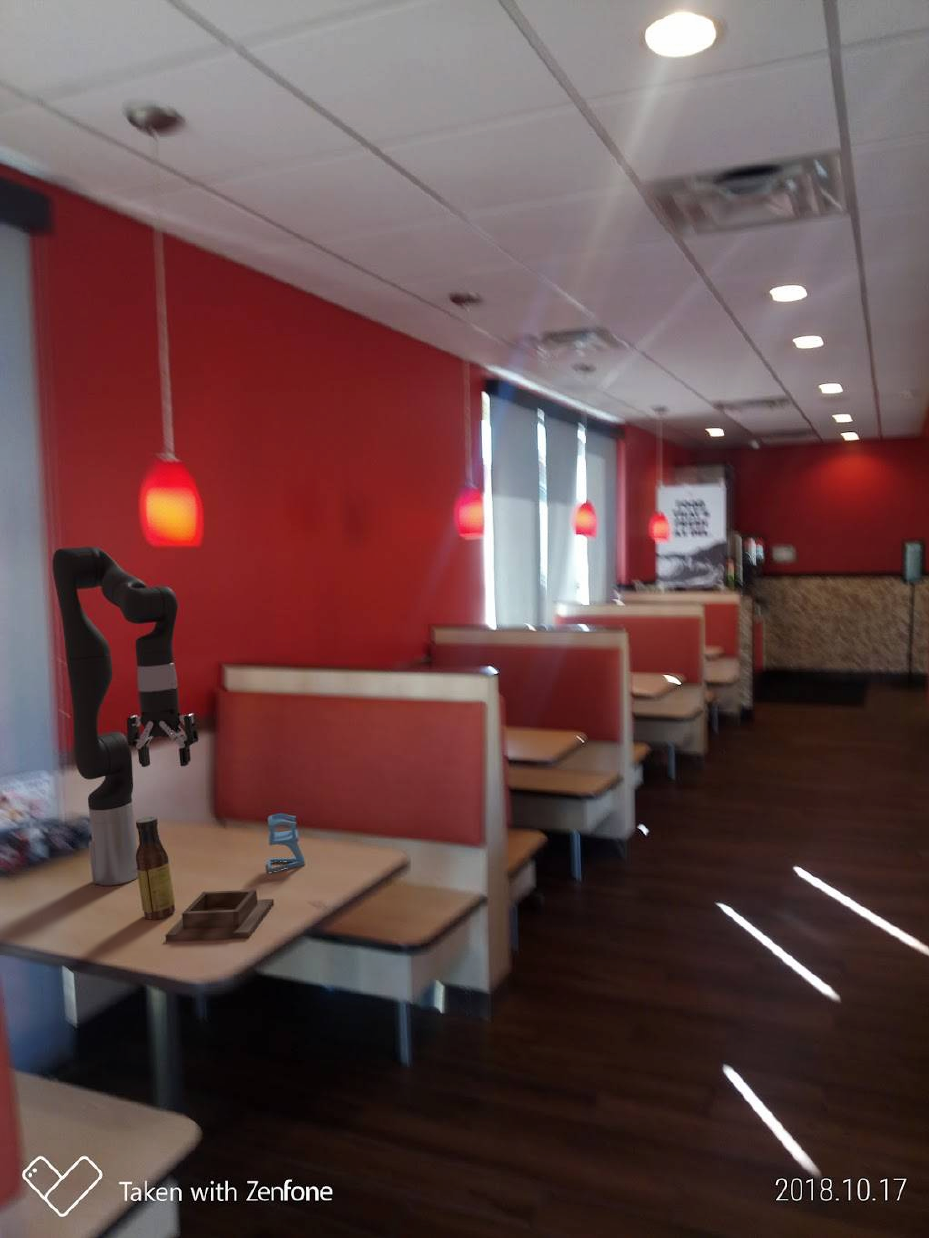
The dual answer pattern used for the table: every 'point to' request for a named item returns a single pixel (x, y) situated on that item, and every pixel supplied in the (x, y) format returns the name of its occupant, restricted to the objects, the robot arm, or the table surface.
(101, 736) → the robot arm
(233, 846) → the table surface
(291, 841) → the chair
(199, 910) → the bottle caddy
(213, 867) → the table surface
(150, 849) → the sauce bottle
